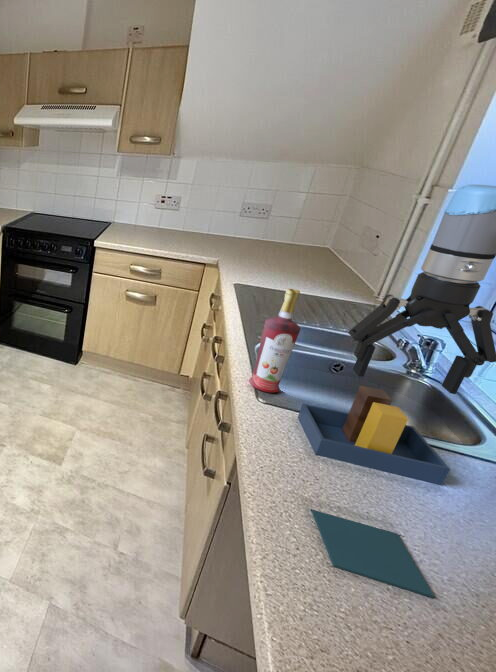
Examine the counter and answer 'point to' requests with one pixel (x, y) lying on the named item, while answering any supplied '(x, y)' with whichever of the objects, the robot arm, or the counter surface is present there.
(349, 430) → the walnut piece
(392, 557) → the mat
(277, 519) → the counter surface
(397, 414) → the mustard piece
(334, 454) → the bin
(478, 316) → the robot arm
